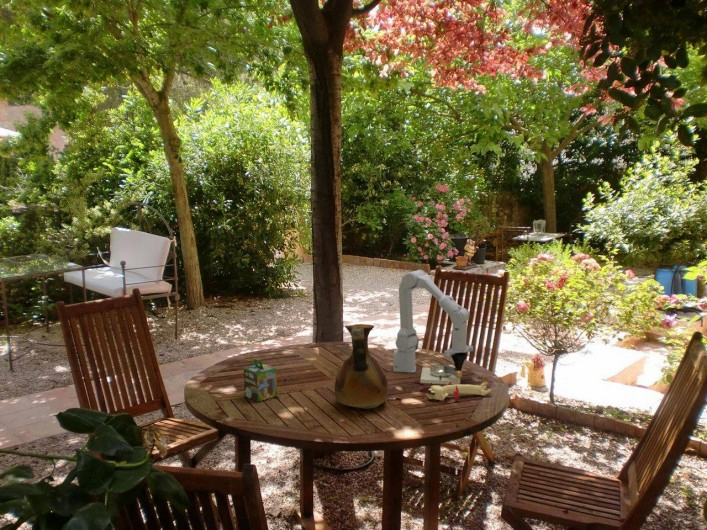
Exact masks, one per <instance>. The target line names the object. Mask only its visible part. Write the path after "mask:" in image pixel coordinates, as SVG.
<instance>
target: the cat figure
mask: <svg viewBox="0 0 707 530" xmlns="http://www.w3.org/2000/svg"><path fill="white" fill-rule="evenodd" d="M489 379H490V378H488V376H487V375H483V376H482V380H484V381H483V382H482V383H481V384H480V385H478V384H477V385H476V384H475V385H474V384H460V385H450V384H451V383H452V382H449V384H445V385H443V386H441V385H440V384H435V385H434V384H433V385H431V386H430V388H428V389H427V391H426V392H427V393H425V396H427V399H429V400H439V401H444V400H445V399H446V397H449V396H450V395H453V398H454V399H455V401H456V402H457V401H458V400H459V398H460V396H459V394H469V395H477V396H487V397H488V396H490V397H492V390H491V389H490V388H488V389H487V386H486V385H488V384H489V383H490V380H489ZM428 393H429V394H428ZM449 394H450V395H449Z"/></svg>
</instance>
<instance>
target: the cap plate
mask: <svg viewBox="0 0 707 530" xmlns="http://www.w3.org/2000/svg"><path fill="white" fill-rule="evenodd" d="M430 368H431V367H425V366H423V367H422V370H421V375H420V381H419V382H420V384H431V383H432V384H433V385H434V384H435V385H448V384H449V382H452V383H451V384H450V385H461V378H457V377H456V376H454V375H451V376H448V377H436V376H433V375H431V374H430Z"/></svg>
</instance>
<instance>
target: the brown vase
mask: <svg viewBox="0 0 707 530" xmlns="http://www.w3.org/2000/svg"><path fill="white" fill-rule="evenodd" d="M344 327H345V328H346V330H347V331H348V333H349V334H350V336H351V337H350V338H351V345H352V346H351V347H352V350H351V351H352V352H351V355H350V357H348V358H347V359H346V360H345V361H344V362H343V363H342V365H341V366H340V367H339V369H338V371H337V373H336V378H335V381H334V396H335V400H336V401H337V402H338V403H341V404H342V405H344V406H348V407H353V408H361V409H374V408H377V407H379V406H380V405H382V404H383V403H384V402H385V401H386V399H387V397H388V392H389V385H388V380H387V375H386V373H385V370H384V368H383V367H382V365H381V364H380V362H379V361H378V360H377V359H376V358H375V357H373V356H372V355H371V353H370V351H369V346H368V345H369V344H368V343H369V335H370V333H371V331H372V330H373V329H374V328H375V325H374V324H364V323H357V324H350V325H345V326H344Z"/></svg>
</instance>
